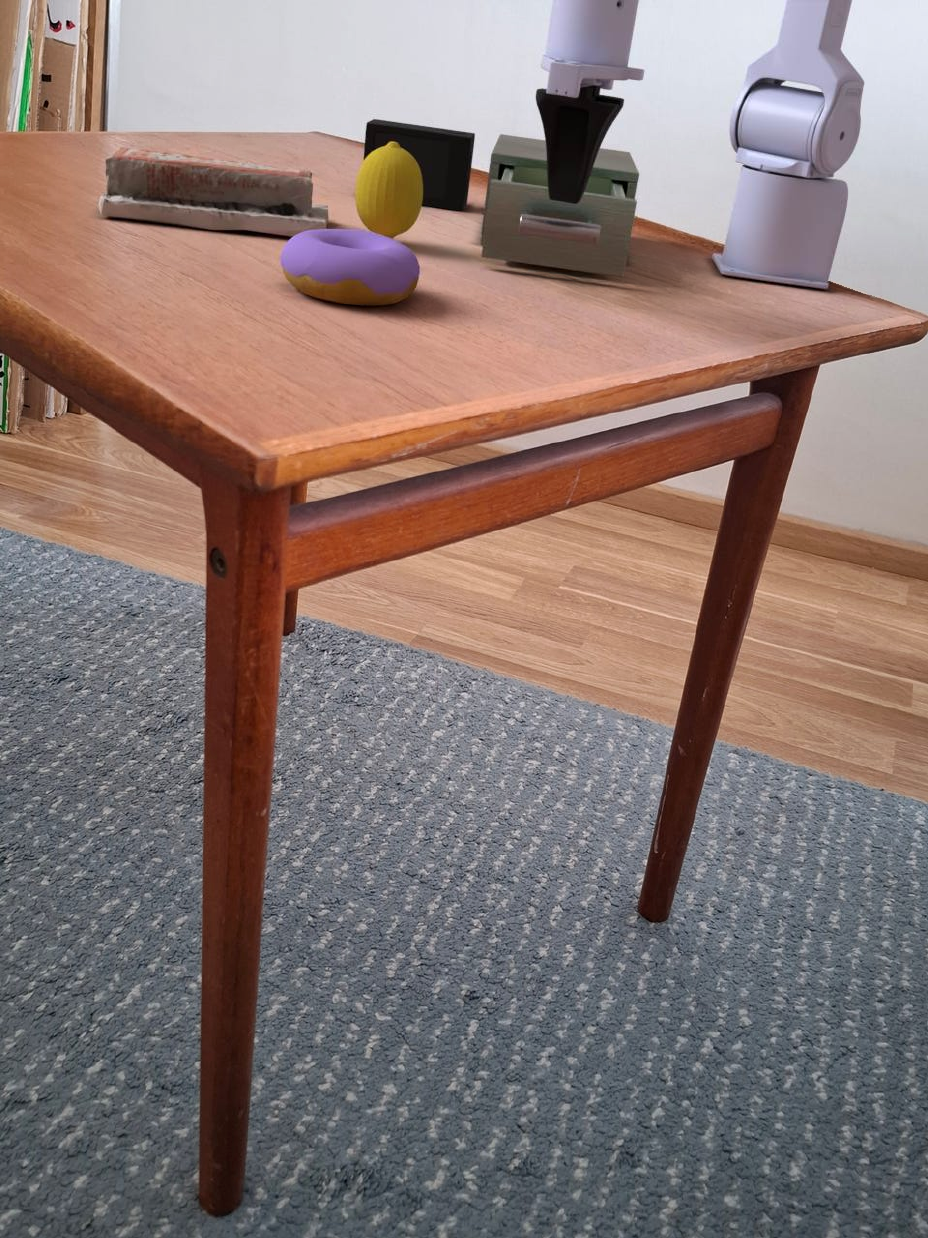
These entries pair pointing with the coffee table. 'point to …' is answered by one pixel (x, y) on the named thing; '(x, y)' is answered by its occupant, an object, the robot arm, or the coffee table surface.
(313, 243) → the donut
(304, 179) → the weathered stone block
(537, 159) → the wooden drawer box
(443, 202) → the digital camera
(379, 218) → the lemon
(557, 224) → the drawer
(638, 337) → the coffee table surface
